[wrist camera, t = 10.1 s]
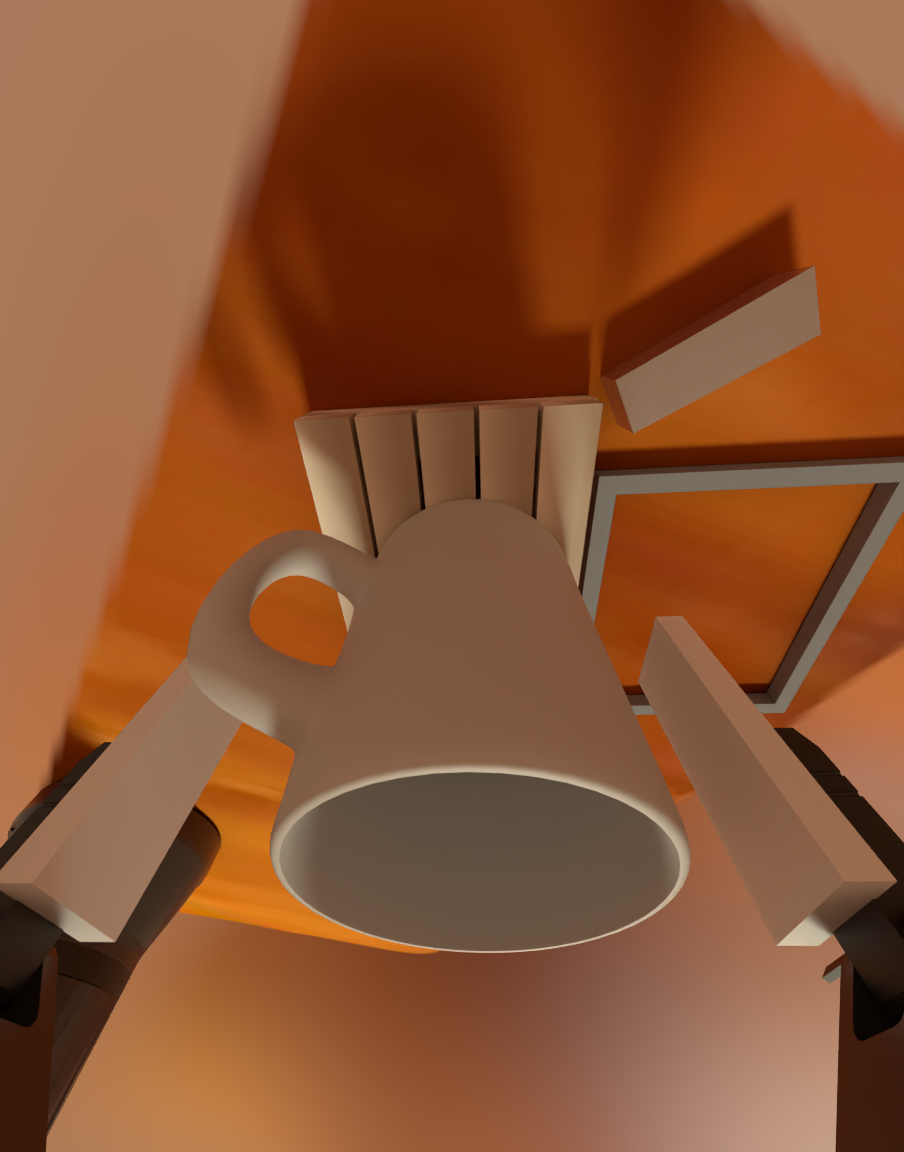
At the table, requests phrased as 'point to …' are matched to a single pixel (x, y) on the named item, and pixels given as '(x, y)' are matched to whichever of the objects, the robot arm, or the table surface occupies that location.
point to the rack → (451, 465)
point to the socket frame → (894, 493)
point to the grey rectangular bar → (715, 349)
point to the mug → (450, 740)
